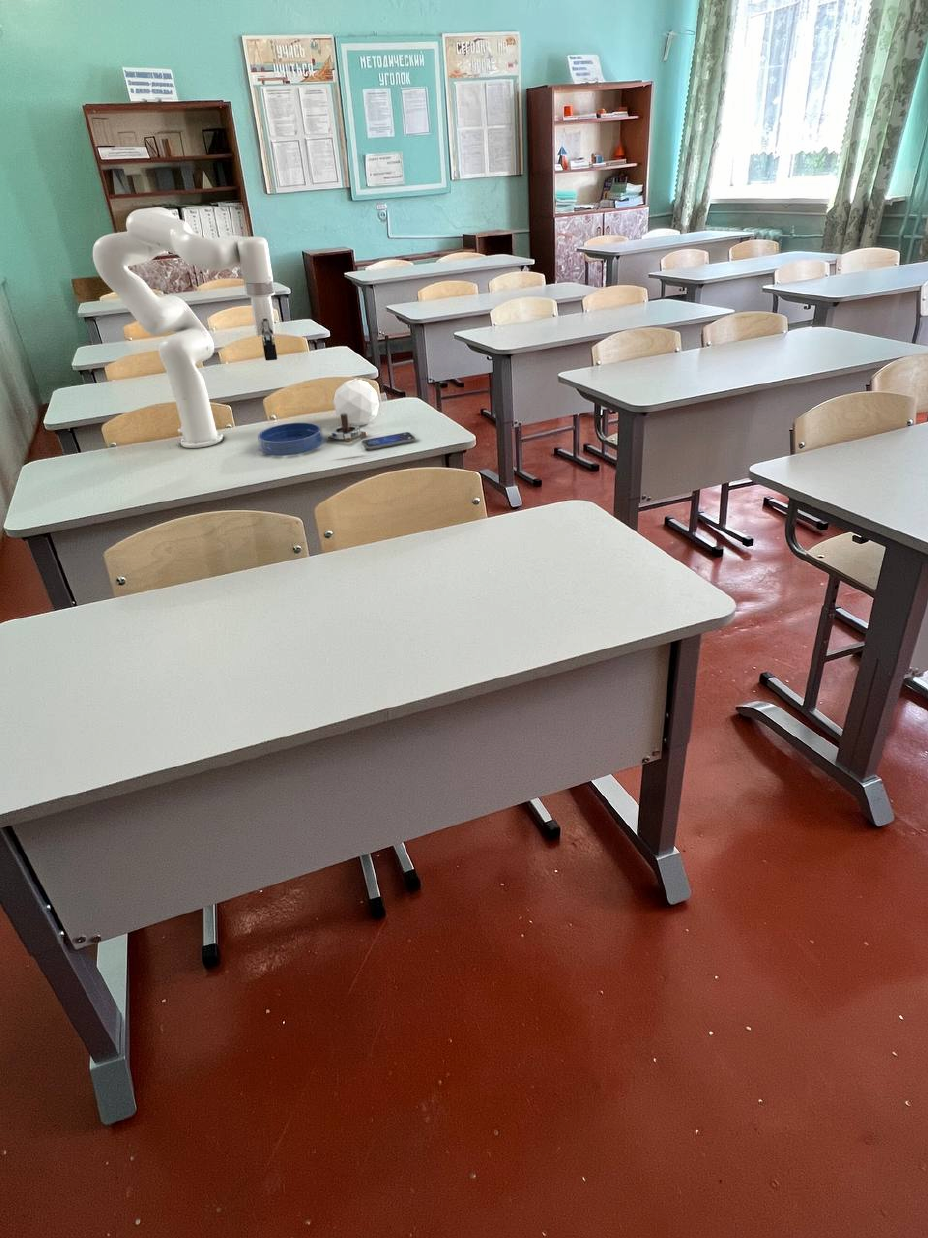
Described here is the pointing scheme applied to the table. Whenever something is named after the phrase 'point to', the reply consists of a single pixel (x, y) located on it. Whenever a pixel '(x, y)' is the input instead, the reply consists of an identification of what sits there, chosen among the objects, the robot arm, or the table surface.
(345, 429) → the peg board base
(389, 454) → the table surface
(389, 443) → the smartphone
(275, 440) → the bowl
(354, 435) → the ring
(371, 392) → the geodesic sphere
